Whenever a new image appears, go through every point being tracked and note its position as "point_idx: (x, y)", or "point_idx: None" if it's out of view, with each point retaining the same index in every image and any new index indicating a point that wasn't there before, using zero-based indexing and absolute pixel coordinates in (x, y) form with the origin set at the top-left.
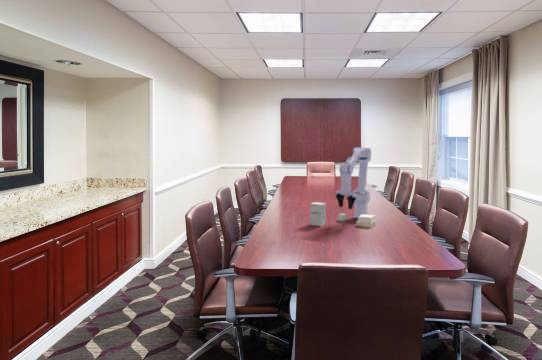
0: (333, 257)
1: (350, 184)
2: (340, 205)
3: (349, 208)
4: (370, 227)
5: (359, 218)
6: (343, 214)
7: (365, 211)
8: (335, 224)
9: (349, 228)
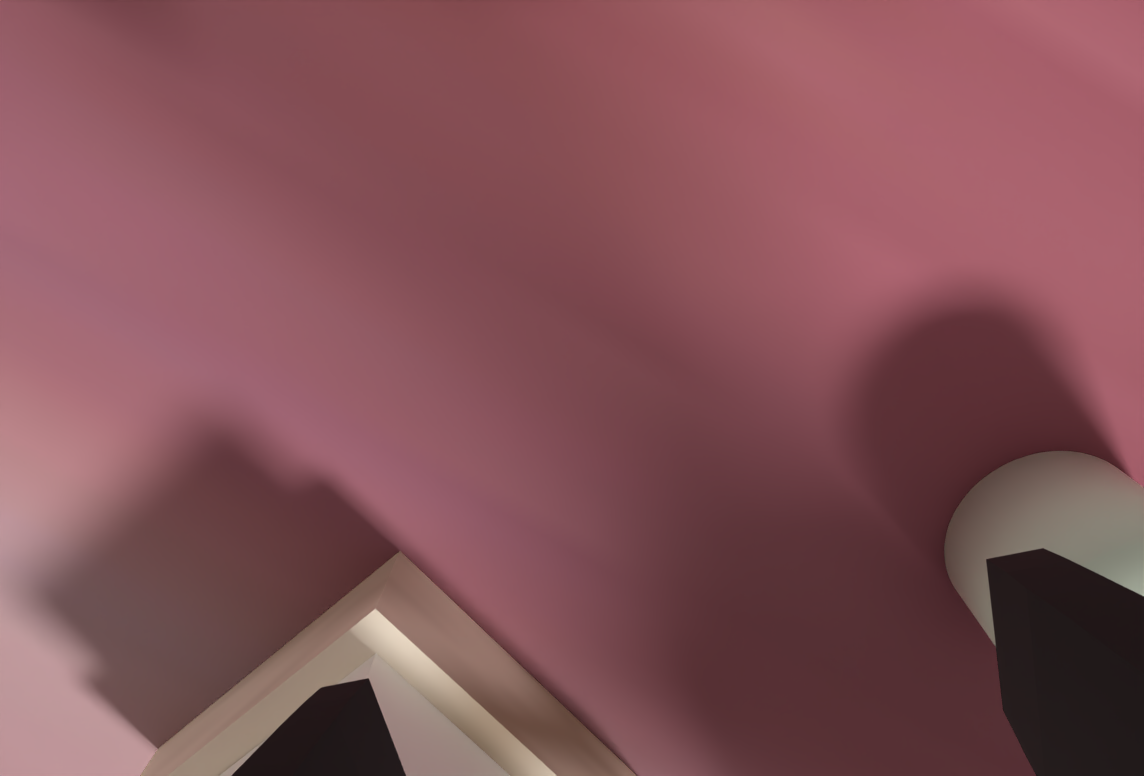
0: None
1: None
2: (1027, 633)
3: (306, 707)
4: (179, 733)
5: None
6: None
7: None
8: (734, 142)
9: (179, 257)
